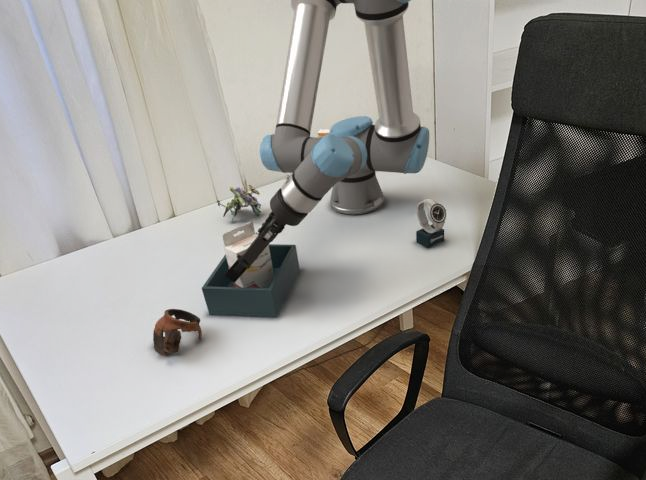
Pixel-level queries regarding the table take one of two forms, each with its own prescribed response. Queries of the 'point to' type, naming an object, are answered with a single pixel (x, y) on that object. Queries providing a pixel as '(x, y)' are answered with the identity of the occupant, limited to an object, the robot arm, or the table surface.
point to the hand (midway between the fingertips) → (237, 266)
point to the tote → (253, 300)
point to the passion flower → (242, 201)
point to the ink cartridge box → (261, 267)
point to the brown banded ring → (173, 330)
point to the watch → (437, 216)
